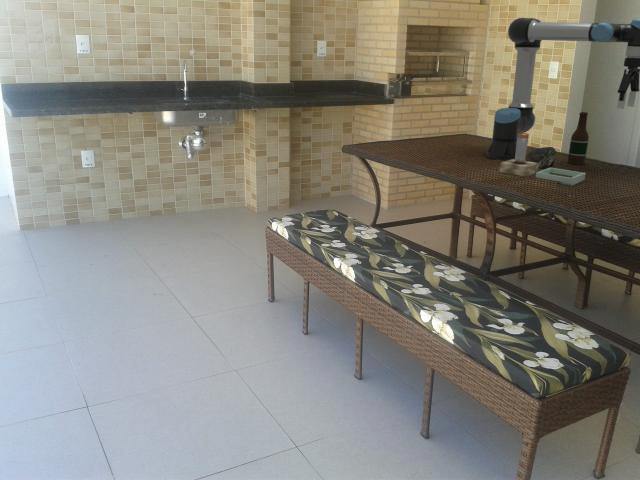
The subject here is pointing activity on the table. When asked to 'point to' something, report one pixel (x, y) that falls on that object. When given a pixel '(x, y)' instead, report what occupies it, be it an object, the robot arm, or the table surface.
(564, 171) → the tray
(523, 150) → the pin
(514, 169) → the block
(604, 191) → the table surface
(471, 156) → the table surface
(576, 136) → the beer bottle
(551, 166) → the rock
